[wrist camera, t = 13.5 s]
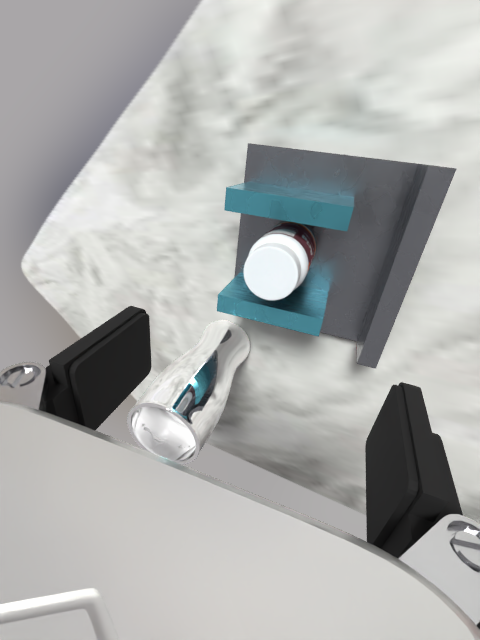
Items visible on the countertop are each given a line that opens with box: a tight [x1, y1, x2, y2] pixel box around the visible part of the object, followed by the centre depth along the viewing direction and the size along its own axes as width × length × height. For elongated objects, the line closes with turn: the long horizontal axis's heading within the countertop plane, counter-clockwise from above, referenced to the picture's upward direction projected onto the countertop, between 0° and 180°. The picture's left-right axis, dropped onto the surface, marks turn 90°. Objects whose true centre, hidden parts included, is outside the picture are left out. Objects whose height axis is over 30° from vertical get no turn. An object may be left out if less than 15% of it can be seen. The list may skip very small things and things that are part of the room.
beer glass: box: [127, 320, 250, 465], centre depth 31 cm, size 7×7×15 cm
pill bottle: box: [244, 221, 316, 300], centre depth 26 cm, size 5×5×8 cm
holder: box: [217, 144, 456, 368], centre depth 27 cm, size 16×15×7 cm
